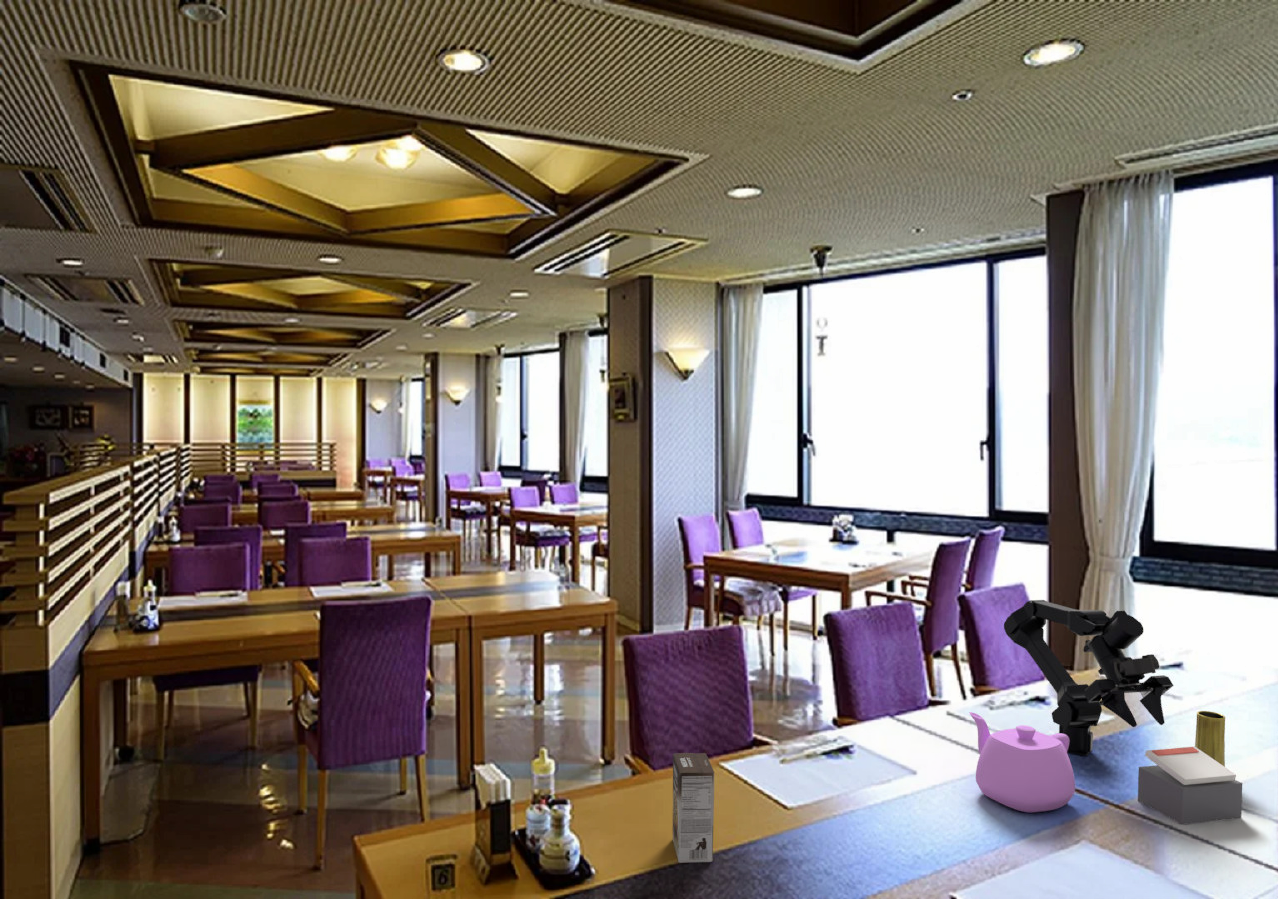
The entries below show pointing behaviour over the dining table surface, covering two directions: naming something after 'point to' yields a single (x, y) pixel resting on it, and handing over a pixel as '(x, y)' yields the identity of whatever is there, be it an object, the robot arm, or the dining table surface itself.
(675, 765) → the coffee box
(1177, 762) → the rocker
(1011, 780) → the teapot
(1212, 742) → the vase
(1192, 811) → the switch box
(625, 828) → the dining table surface
